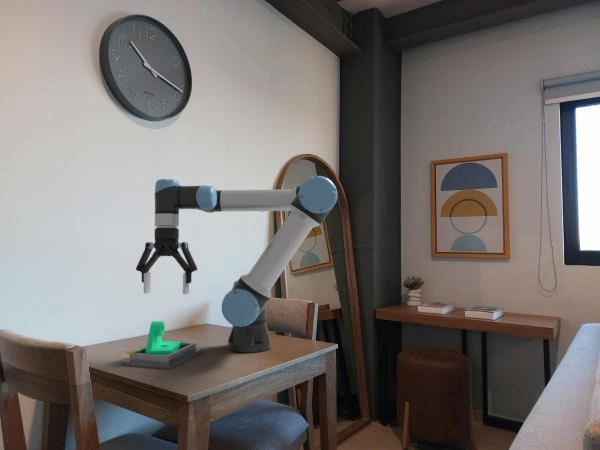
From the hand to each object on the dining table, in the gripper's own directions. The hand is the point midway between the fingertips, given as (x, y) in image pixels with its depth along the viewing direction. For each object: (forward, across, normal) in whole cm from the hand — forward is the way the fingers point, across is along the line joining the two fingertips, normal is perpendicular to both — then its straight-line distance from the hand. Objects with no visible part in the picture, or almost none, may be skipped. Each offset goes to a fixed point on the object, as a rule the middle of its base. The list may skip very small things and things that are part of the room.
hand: (166, 293), depth 138 cm
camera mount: (+19, -1, +2) cm, 19 cm away
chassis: (+20, -1, +2) cm, 20 cm away
